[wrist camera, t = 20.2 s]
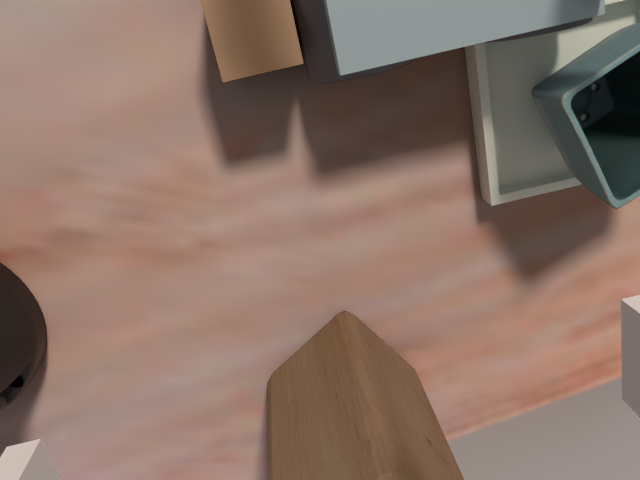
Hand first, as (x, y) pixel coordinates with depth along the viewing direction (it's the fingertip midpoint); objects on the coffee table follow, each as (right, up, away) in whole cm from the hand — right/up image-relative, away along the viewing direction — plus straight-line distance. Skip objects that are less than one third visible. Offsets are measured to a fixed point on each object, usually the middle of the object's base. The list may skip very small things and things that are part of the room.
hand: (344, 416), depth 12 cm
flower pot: (+19, +15, +30) cm, 38 cm away
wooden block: (+1, -8, +37) cm, 38 cm away
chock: (-5, +19, +26) cm, 33 cm away
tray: (+18, +15, +30) cm, 38 cm away
